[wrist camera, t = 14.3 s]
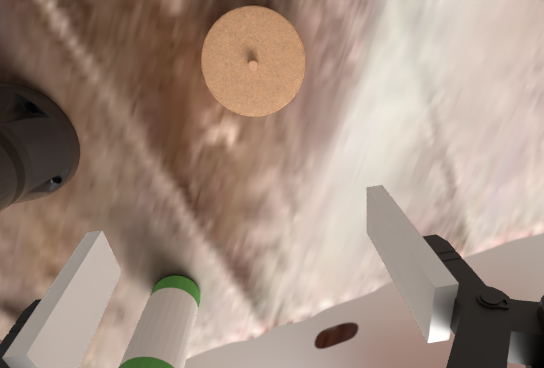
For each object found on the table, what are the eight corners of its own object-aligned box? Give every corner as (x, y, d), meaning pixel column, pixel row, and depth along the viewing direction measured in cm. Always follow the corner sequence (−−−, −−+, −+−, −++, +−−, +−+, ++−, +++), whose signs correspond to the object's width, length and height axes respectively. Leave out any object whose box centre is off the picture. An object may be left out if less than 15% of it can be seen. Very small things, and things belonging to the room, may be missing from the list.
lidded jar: (217, 1, 39) (204, -9, 30) (308, 21, 40) (319, 17, 31) (206, 94, 43) (192, 109, 34) (288, 110, 44) (294, 129, 35)
